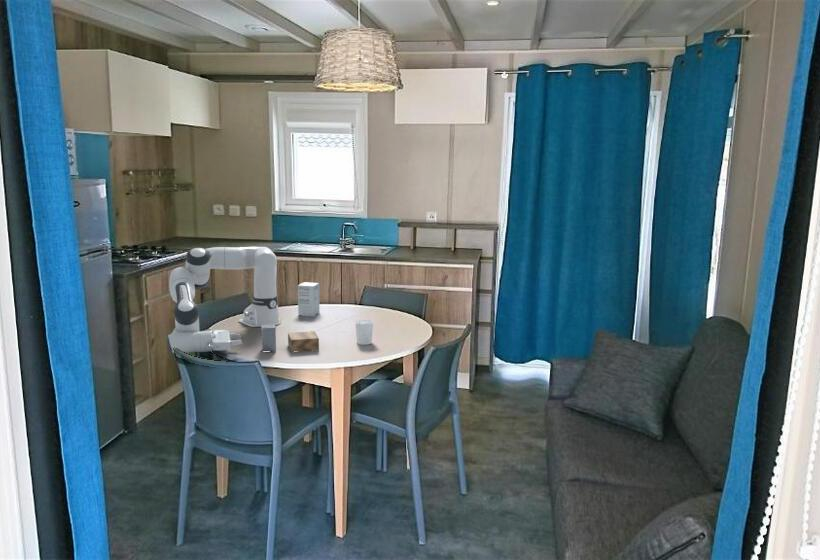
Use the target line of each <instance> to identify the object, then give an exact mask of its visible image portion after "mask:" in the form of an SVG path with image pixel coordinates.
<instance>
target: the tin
mask: <svg viewBox="0 0 820 560" xmlns="http://www.w3.org/2000/svg"><path fill="white" fill-rule="evenodd" d="M260 329H261V350H263V351H276V352H277V338H276V337H277V335H276V333H277V332H276V331H277V330H276V325H274V324H271V325H261V327H260ZM263 351H262V352H263Z"/></svg>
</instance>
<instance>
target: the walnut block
mask: <svg viewBox="0 0 820 560" xmlns="http://www.w3.org/2000/svg"><path fill="white" fill-rule="evenodd" d="M288 345H289V346H288ZM287 346H288V348H289V347H290V348H289V350H290V349H291V350H290V353H291V352H294V351H308V352H313V351H312V350H319V351H320V338H319V336H318V335H317V333H316V331H311V330H310V331H299V332H298V331H297V332H288V333H287ZM294 353H295V352H294Z"/></svg>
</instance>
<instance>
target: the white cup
mask: <svg viewBox="0 0 820 560" xmlns="http://www.w3.org/2000/svg"><path fill="white" fill-rule="evenodd" d="M373 327H374V322H373V320H370V319H360V320H356V321H355V335H356V344H357V345H360V346H365V345H366V346H367V345H371V344H372V342H373V341H372V340H373V329H374V328H373Z"/></svg>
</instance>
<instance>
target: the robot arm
mask: <svg viewBox="0 0 820 560" xmlns="http://www.w3.org/2000/svg"><path fill="white" fill-rule="evenodd" d="M277 263H278V260H277V256H276V254H275V253H274V252H273V251H272V249H271V248H269V247H267V246H246V247H245V246H244V247H243V246H240V247H237V246H236V247H234V246H229V247H228V246H214V247H209V248H208V247H207V248H203V247H199V246H198V247H192V248H190V249H189V250H188V251H187V253H186V255H185V267H182V266H179V267H176V268H174V269H173V270H171V272H170V276H169V278H168V279H169V281H168V287H169V293H170V297H171V299H172V301H173V302H175V303H176V305H175V306H174V308H173V315H174V323H175V326H174V329H173V331H172V332H171V333H170V334H168V335H167V336H166V341H167V347H168V351H170V353H174V350H173V348H174V347H175V348H178V349H180V350H181V351H183V352H185V353H184V354H190V353H194V352H198V353H204V352H205V353H207V352H213V351H229V350H231V349H232V347H234V346H237V345H242V344H243V341H242V339H241V338H242V337H241V336H242V335H241V334H240V333H233V332H230V330H227V329H213V330H212V328H207V329H206V330H202V331H201V330H200V318H199V315H200V313H199V312H200V309H199V305H197V304H196V303H195V302H194V299H195V296H196V290H202V289H205V288H206V287H208V285H209V282H210V275H211V270H212V269H215V270H237V271H238V270H240V271H241V270H248V269H253V297H251V298H250V300H252V301H251V304H250V305H249V306H247V307H246V308H245V309H244V311H243V317H242V318H240V319H238V322H239V323H241V324H243V325H245V326H248V327H250V328H257V327H259V328H261V325H271V324H274V325H275V326H278V325H280V324H281V320H282V318H280V312H279V305H278V295H277V269H278V268H277V266H278V264H277ZM233 339H235V340H233ZM175 348H174V349H175ZM174 354H175V353H174Z"/></svg>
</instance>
